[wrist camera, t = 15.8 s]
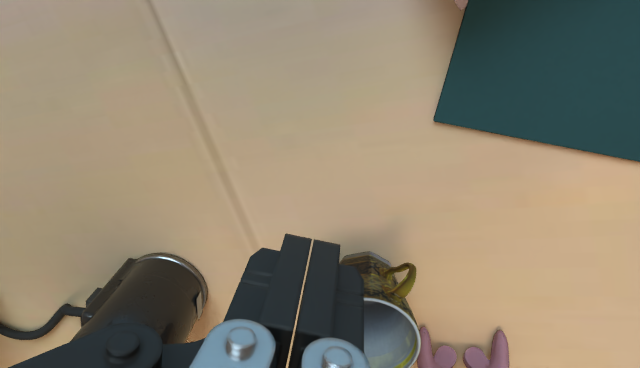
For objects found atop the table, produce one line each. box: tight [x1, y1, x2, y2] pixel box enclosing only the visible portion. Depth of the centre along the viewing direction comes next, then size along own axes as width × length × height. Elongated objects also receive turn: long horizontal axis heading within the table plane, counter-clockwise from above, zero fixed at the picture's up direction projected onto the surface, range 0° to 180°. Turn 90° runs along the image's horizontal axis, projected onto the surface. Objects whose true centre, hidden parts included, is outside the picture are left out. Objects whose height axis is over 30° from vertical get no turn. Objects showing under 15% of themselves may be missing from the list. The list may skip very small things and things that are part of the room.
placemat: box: [434, 0, 640, 162], centre depth 36 cm, size 20×24×1 cm
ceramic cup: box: [340, 251, 421, 368], centre depth 44 cm, size 13×10×10 cm
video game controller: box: [417, 327, 509, 368], centre depth 50 cm, size 10×5×7 cm, turn 91°
